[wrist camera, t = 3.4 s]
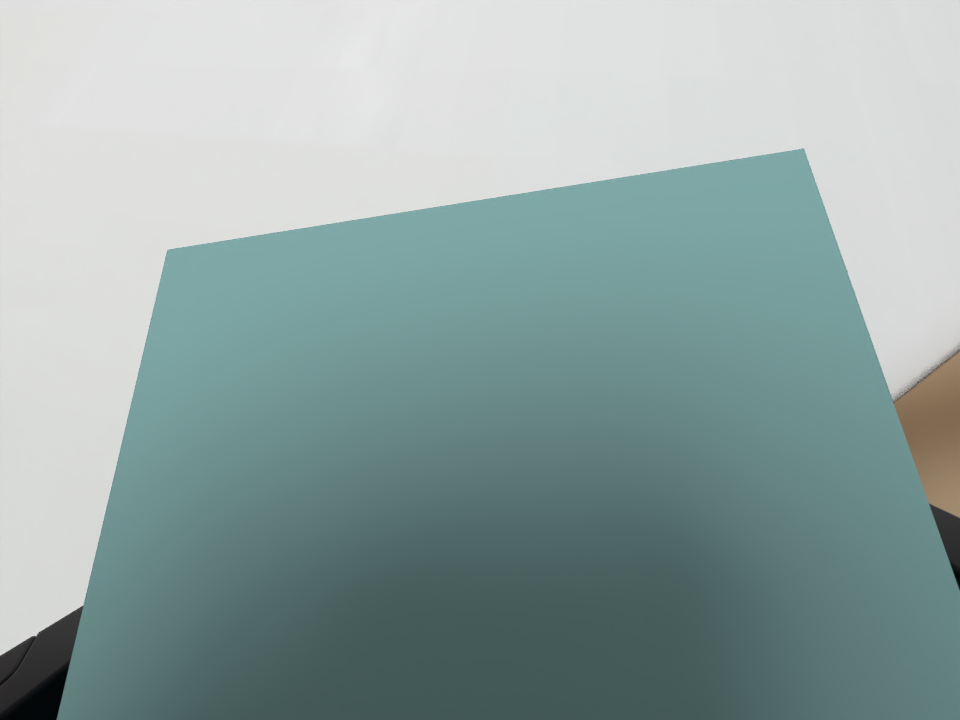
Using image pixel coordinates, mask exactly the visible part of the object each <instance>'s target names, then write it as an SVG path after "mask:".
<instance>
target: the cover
mask: <svg viewBox="0 0 960 720" xmlns="http://www.w3.org/2000/svg"><path fill="white" fill-rule="evenodd" d="M57 720H960V590H959V587H958V585H957V582H956V579H955V576H954V573H953V570H952V568H951V565H950V562H949V559H948V556H947V553H946V551H945V548H944V545H943V542H942V539H941V536H940V534H939V531H938V528H937V525H936V522H935V519H934V517H933V514H932V511H931V508H930V505H929V502H928V500H927V497H926V494H925V491H924V488H923V485H922V483H921V480H920V477H919V474H918V471H917V468H916V465H915V463H914V460H913V457H912V454H911V451H910V448H909V446H908V443H907V440H906V437H905V434H904V431H903V429H902V426H901V423H900V420H899V417H898V414H897V412H896V409H895V406H894V403H893V400H892V397H891V395H890V392H889V389H888V386H887V383H886V380H885V378H884V375H883V372H882V369H881V366H880V363H879V361H878V358H877V355H876V352H875V349H874V346H873V344H872V341H871V338H870V335H869V332H868V329H867V327H866V324H865V321H864V318H863V315H862V312H861V310H860V307H859V304H858V301H857V298H856V295H855V293H854V290H853V287H852V284H851V281H850V278H849V276H848V273H847V270H846V267H845V264H844V261H843V258H842V256H841V253H840V250H839V247H838V244H837V241H836V239H835V236H834V233H833V230H832V227H831V224H830V222H829V219H828V216H827V213H826V210H825V207H824V205H823V202H822V199H821V196H820V193H819V190H818V188H817V185H816V182H815V179H814V176H813V173H812V171H811V168H810V165H809V162H808V159H807V156H806V154H805V151H804V149H799V150H792V151H786V152H780V153H774V154H767V155H761V156H755V157H748V158H742V159H736V160H729V161H723V162H717V163H711V164H704V165H698V166H692V167H685V168H679V169H673V170H667V171H660V172H654V173H648V174H641V175H635V176H629V177H623V178H616V179H610V180H604V181H597V182H591V183H585V184H579V185H572V186H566V187H560V188H553V189H547V190H541V191H534V192H528V193H522V194H516V195H509V196H503V197H497V198H490V199H484V200H478V201H472V202H465V203H459V204H453V205H446V206H440V207H434V208H428V209H421V210H415V211H409V212H402V213H396V214H390V215H384V216H377V217H371V218H365V219H358V220H352V221H346V222H339V223H333V224H327V225H321V226H314V227H308V228H302V229H295V230H289V231H283V232H277V233H270V234H264V235H258V236H251V237H245V238H239V239H233V240H226V241H220V242H214V243H207V244H201V245H195V246H189V247H182V248H176V249H170V250H167V254H166V258H165V262H164V267H163V271H162V275H161V279H160V284H159V288H158V292H157V296H156V301H155V305H154V309H153V313H152V318H151V322H150V326H149V330H148V335H147V339H146V343H145V347H144V352H143V356H142V360H141V364H140V368H139V373H138V377H137V381H136V385H135V390H134V394H133V398H132V402H131V407H130V411H129V415H128V419H127V424H126V428H125V432H124V436H123V441H122V445H121V449H120V453H119V458H118V462H117V466H116V470H115V474H114V479H113V483H112V487H111V491H110V496H109V500H108V504H107V508H106V513H105V517H104V521H103V525H102V530H101V534H100V538H99V542H98V547H97V551H96V555H95V559H94V564H93V568H92V572H91V576H90V581H89V585H88V589H87V593H86V597H85V602H84V606H83V610H82V614H81V619H80V623H79V627H78V631H77V636H76V640H75V644H74V648H73V653H72V657H71V661H70V665H69V670H68V674H67V678H66V682H65V687H64V691H63V695H62V699H61V704H60V708H59V712H58V716H57Z"/></svg>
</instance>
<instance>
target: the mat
mask: <svg viewBox="0 0 960 720" xmlns="http://www.w3.org/2000/svg"><path fill="white" fill-rule="evenodd" d="M894 406H895V409H896V412H897V414H898V417H899V420H900V423H901V426H902V429H903V431H904V434H905V437H906V440H907V443H908V446H909V448H910V451H911V454H912V457H913V460H914V463H915V465H916V468H917V471H918V474H919V477H920V480H921V483H922V485H923V488H924V491H925V494H926V497H927V500H928V502H929V504H932V505H934V506H936V507H938V508H940V509H942V510H945V511H947V512H949V513H951V514H953V515H955V516H957V517H960V350H959V351H958V352H957V353H955V354H954V355H953V356H952V357H950V358H949V359H948V360H947V361H945V362H944V363H943V364H941V365H940V366H939V367H938V368H936V369H935V370H934V371H933V372H931V373H930V374H929V375H928V376H926V377H925V378H924V379H923V380H921V381H920V382H919V383H918V384H916V385H915V386H914V387H912V388H911V389H910V390H909V391H907V392H906V393H905V394H904V395H902V396H901V397H900V398H899V399H897V400H896V401H895V402H894Z"/></svg>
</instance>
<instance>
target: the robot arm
mask: <svg viewBox="0 0 960 720" xmlns="http://www.w3.org/2000/svg"><path fill="white" fill-rule="evenodd" d="M929 505H930V508H931V511H932V514H933V517H934V519H935V522H936V525H937V528H938V531H939V534H940V536H941V539H942V542H943V545H944V548H945V551H946V553H947V556H948V559H949V562H950V565H951V568H952V570H953V573H954V576H955V579H956V582H957V585H958V587H959V590H960V517H957V516H955V515H953V514H951V513H949V512H947V511H945V510H942V509H940V508H938V507H936V506H934V505H932V504H929ZM83 606H84V605H83ZM83 606H82V607H80V608H78V609H77V610H75V611H73V612H72V613H70V614H69V615H67V616H65V617H64V618H62V619H60V620H59V621H57V622H55V623H54V624H52V625H50V626H49V627H47V628H45V629H44V630H42V631H41V632H39V633H38V635H37V636H32V637H30V638H29V639H27V640H26V641H24V642H22V643H21V644H19V645H17V646H16V647H14V648H12V649H11V650H9V651H7V652H6V653H4V654H2V655H1V656H0V720H57V716H58V712H59V708H60V704H61V699H62V695H63V691H64V687H65V682H66V678H67V674H68V670H69V665H70V661H71V657H72V653H73V648H74V644H75V640H76V636H77V631H78V627H79V623H80V619H81V614H82V610H83Z"/></svg>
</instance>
